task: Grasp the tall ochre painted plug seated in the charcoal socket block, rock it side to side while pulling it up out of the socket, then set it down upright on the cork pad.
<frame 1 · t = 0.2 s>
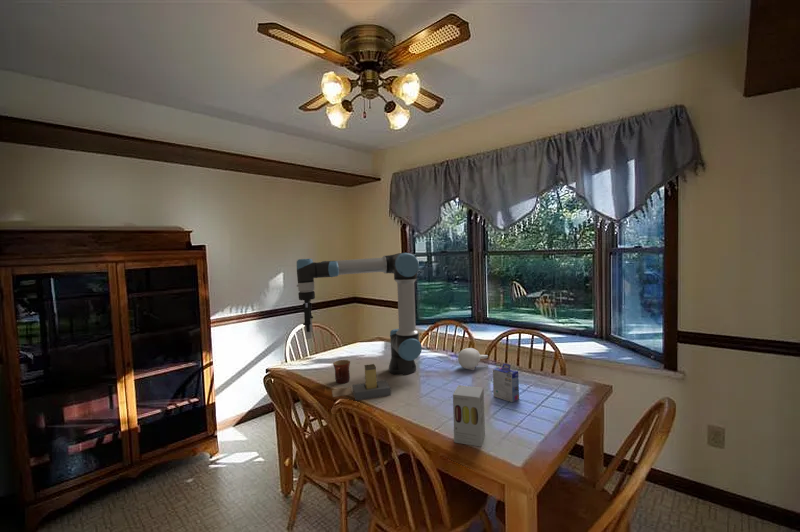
hand: (309, 335, 173), 28 cm above the table, fingers open, 13 cm apart
mug: (341, 383, 184), on the table
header: (371, 394, 167), on the table
supplement box: (470, 438, 125), on the table
pad: (342, 393, 171), on the table
ink cartridge box: (506, 398, 157), on the table
piggy bank: (473, 368, 197), on the table
plug: (371, 393, 167), resting on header
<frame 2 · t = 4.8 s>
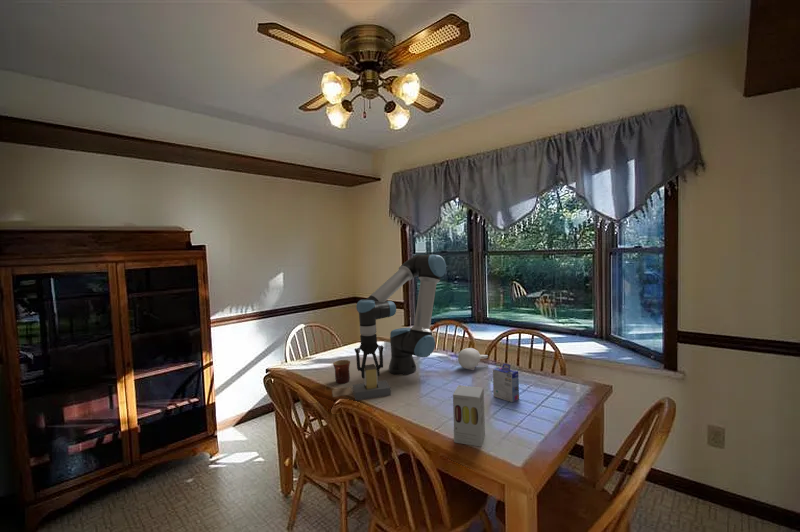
hand: (371, 383, 167), 5 cm above the table, fingers closed on plug, 4 cm apart
plug: (371, 393, 167), resting on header, touching gripper
everything else where it was.
when the fingers open (7 cm above the table, at t = 10.7 s): plug drops 2 cm, resting on pad.
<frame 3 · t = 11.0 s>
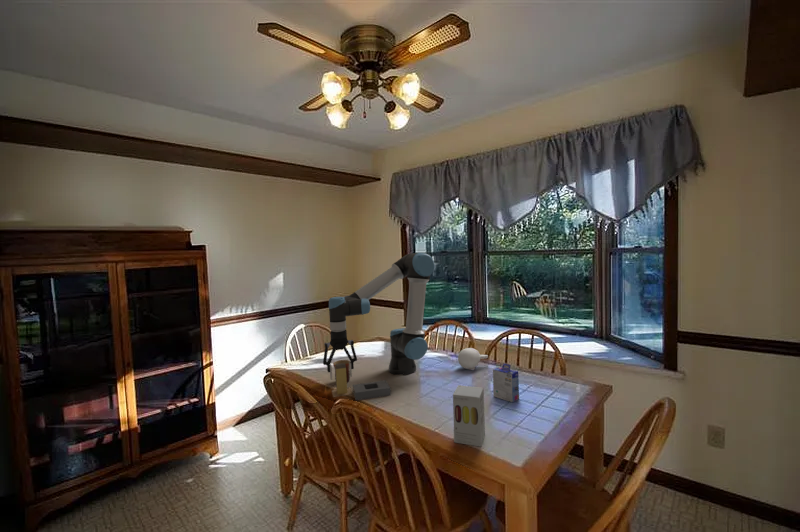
hand: (341, 377, 171), 8 cm above the table, fingers open, 8 cm apart
plug: (342, 391, 171), point 1 cm above the table, touching pad
everything else where it was.
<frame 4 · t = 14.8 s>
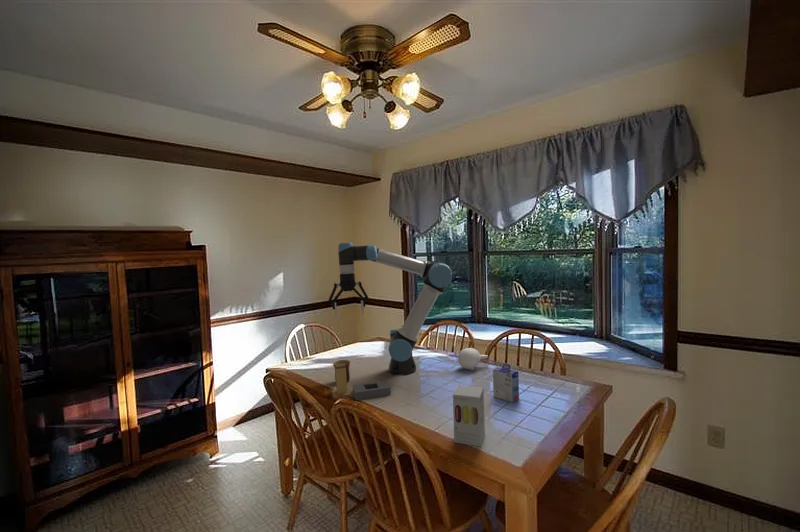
hand: (349, 314, 185), 35 cm above the table, fingers open, 13 cm apart
nothing on the table moved.
at the end: plug inside the target area on the pad (0.0 cm from its centre), point 0.6 cm above the pad's base; plug tilted 0°; the gripper is holding nothing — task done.
